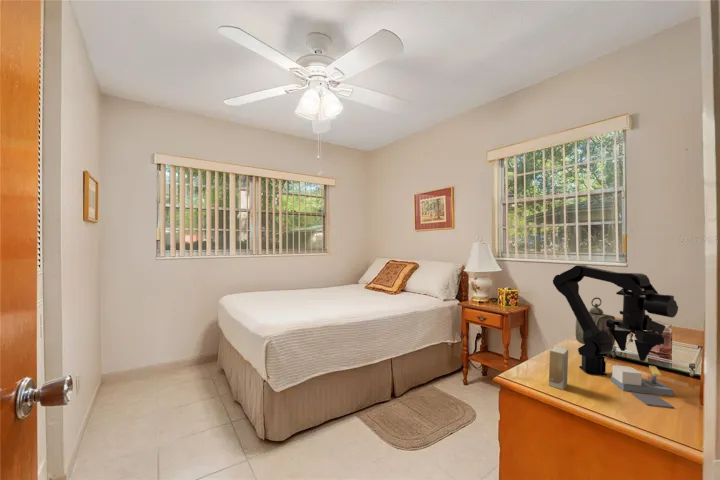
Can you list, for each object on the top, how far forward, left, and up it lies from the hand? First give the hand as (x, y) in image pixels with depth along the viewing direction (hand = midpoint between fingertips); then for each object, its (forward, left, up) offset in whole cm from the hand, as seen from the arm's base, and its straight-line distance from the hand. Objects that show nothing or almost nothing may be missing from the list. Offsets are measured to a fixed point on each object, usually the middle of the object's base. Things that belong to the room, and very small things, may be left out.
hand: (632, 355), depth 105 cm
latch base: (+3, 0, -11) cm, 11 cm away
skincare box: (-24, -5, -11) cm, 27 cm away
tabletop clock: (+6, +35, -11) cm, 37 cm away
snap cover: (-2, 0, -9) cm, 9 cm away
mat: (+1, -9, -11) cm, 14 cm away
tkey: (+6, -1, -9) cm, 10 cm away
